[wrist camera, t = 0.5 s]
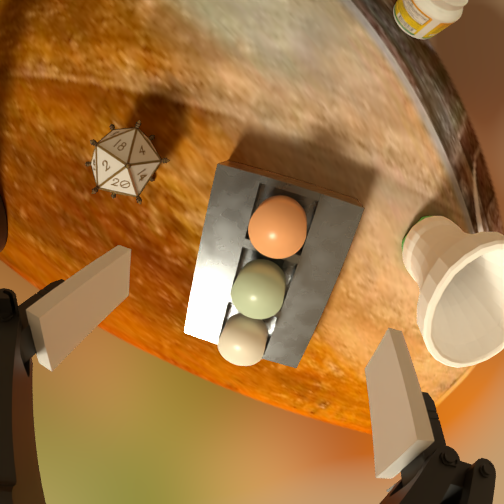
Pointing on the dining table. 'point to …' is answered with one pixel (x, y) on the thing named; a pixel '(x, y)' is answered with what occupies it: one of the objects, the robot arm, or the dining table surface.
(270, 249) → the terracotta button
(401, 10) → the supplement bottle
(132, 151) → the game die
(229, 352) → the ivory button
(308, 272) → the panel
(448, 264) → the cup
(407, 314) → the dining table surface
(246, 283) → the sage button
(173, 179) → the dining table surface
